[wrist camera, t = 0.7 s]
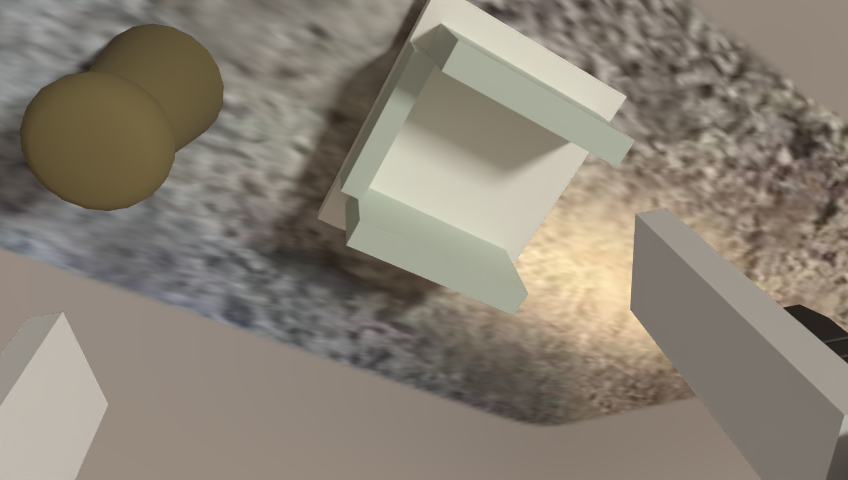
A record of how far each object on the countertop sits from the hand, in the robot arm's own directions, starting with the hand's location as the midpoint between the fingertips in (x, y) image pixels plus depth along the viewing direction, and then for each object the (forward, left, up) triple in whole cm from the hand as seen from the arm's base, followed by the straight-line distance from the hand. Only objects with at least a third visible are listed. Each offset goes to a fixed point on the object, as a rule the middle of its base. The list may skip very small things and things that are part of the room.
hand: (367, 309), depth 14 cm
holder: (+7, 0, -21) cm, 22 cm away
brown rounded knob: (-9, -4, -21) cm, 23 cm away
